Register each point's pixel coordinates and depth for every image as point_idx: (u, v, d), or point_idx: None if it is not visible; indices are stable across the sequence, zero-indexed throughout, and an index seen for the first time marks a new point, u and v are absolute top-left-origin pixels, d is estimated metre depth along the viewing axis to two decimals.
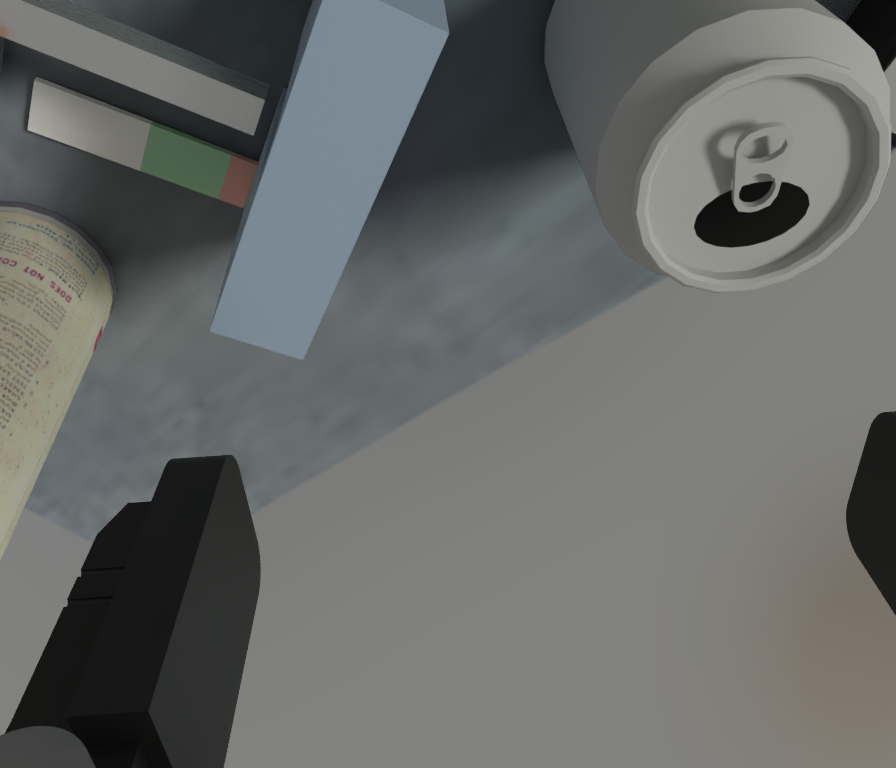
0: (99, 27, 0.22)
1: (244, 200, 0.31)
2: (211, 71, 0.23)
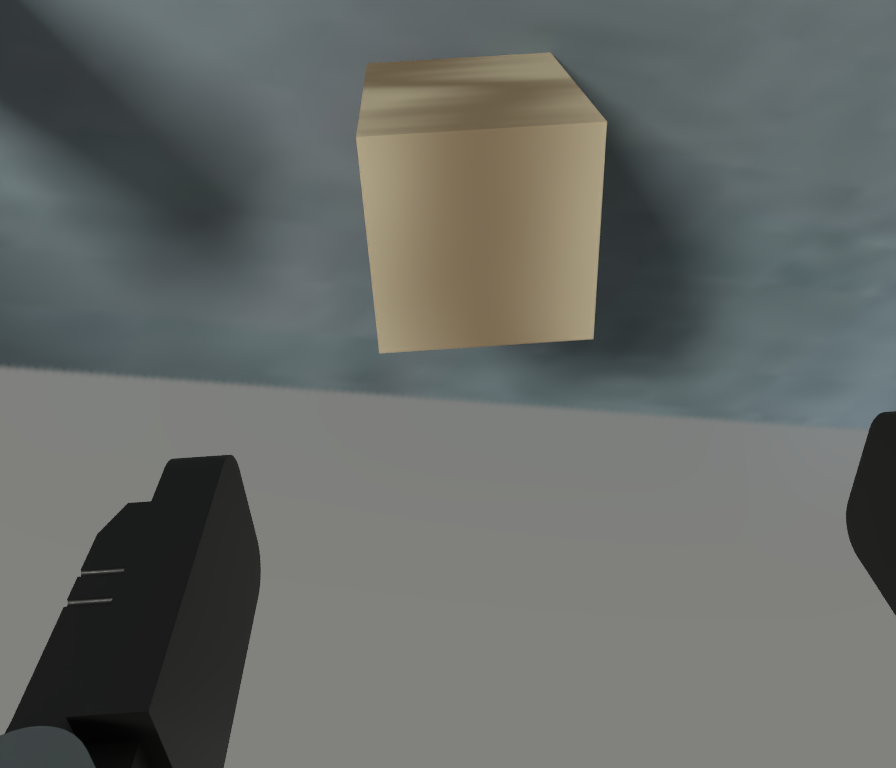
0: None
1: None
2: None
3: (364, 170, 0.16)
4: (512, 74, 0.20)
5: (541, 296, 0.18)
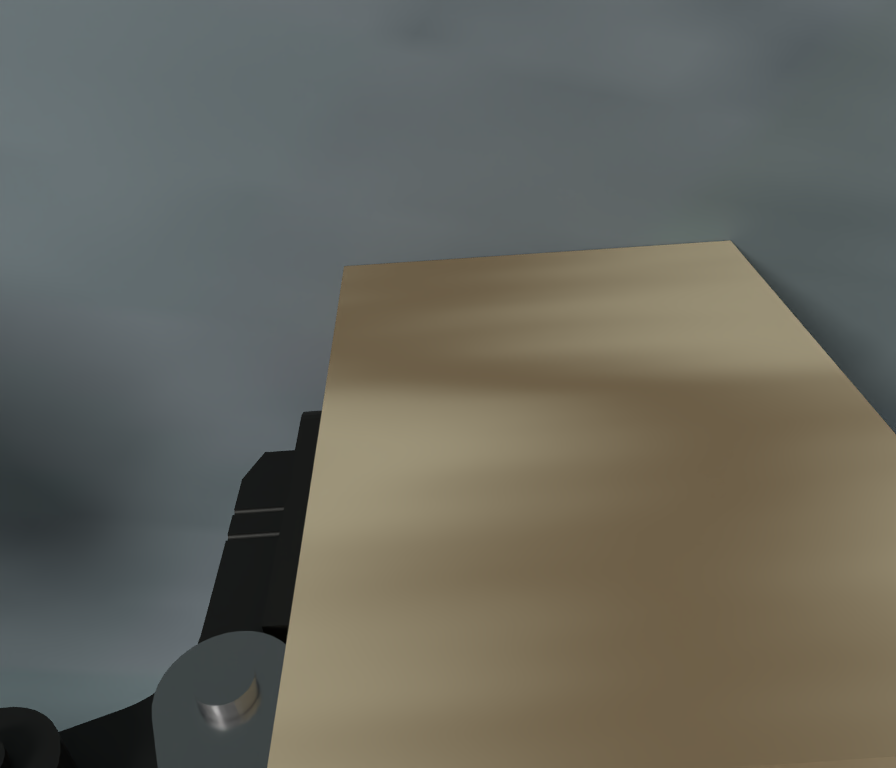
0: None
1: None
2: None
3: None
4: (681, 340, 0.08)
5: None
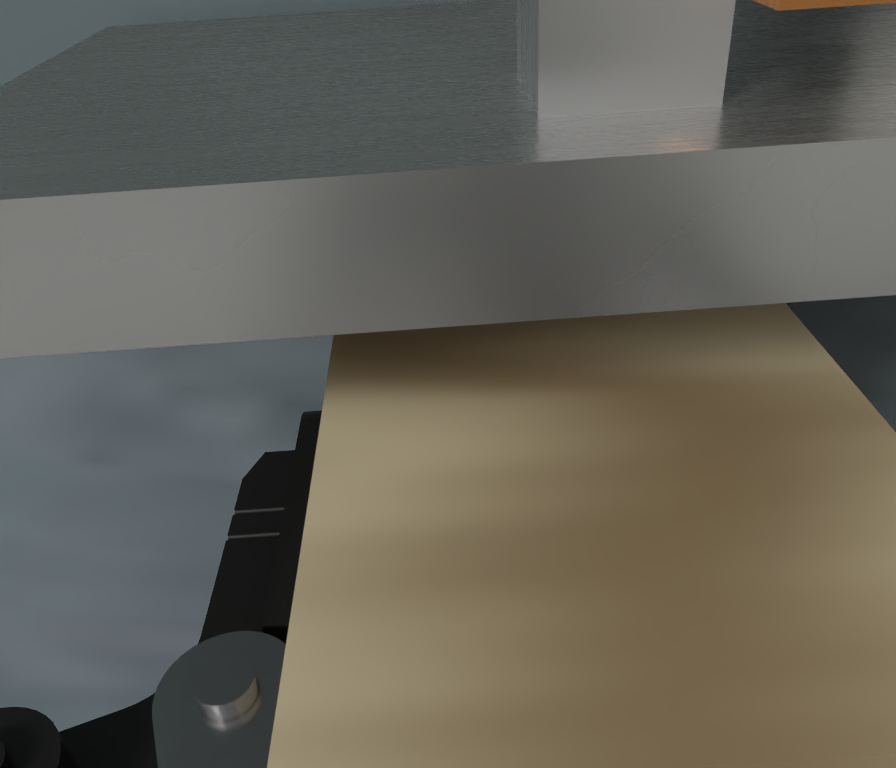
0: None
1: None
2: None
3: None
4: (681, 338, 0.08)
5: None
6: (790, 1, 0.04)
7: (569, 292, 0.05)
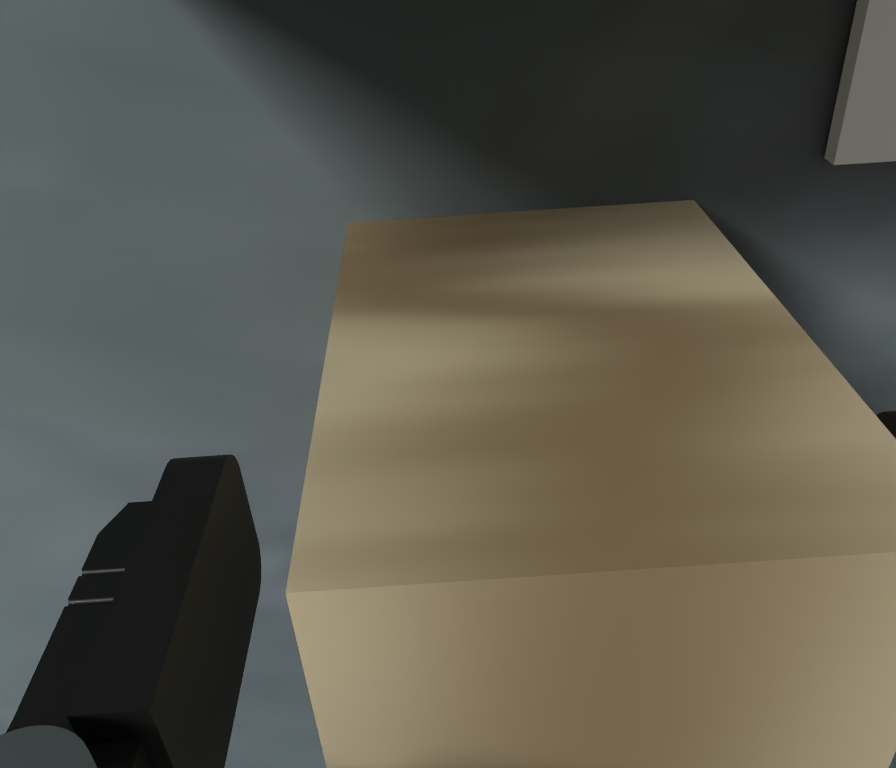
0: None
1: None
2: None
3: (312, 652, 0.06)
4: (642, 277, 0.10)
5: None
6: None
7: None
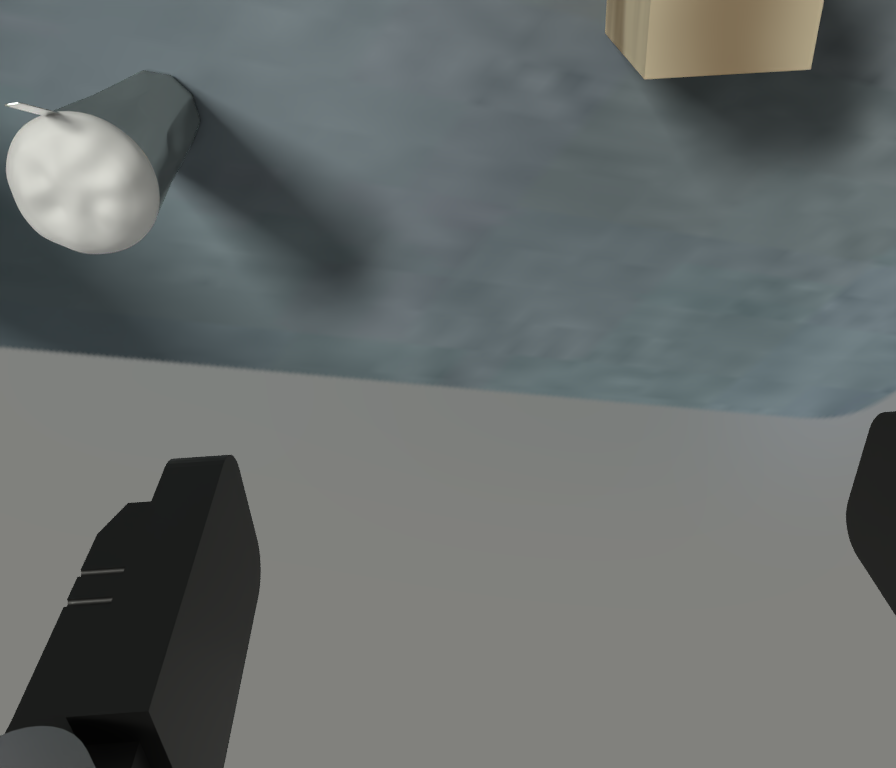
0: None
1: None
2: None
3: None
4: None
5: (776, 29, 0.23)
6: None
7: None
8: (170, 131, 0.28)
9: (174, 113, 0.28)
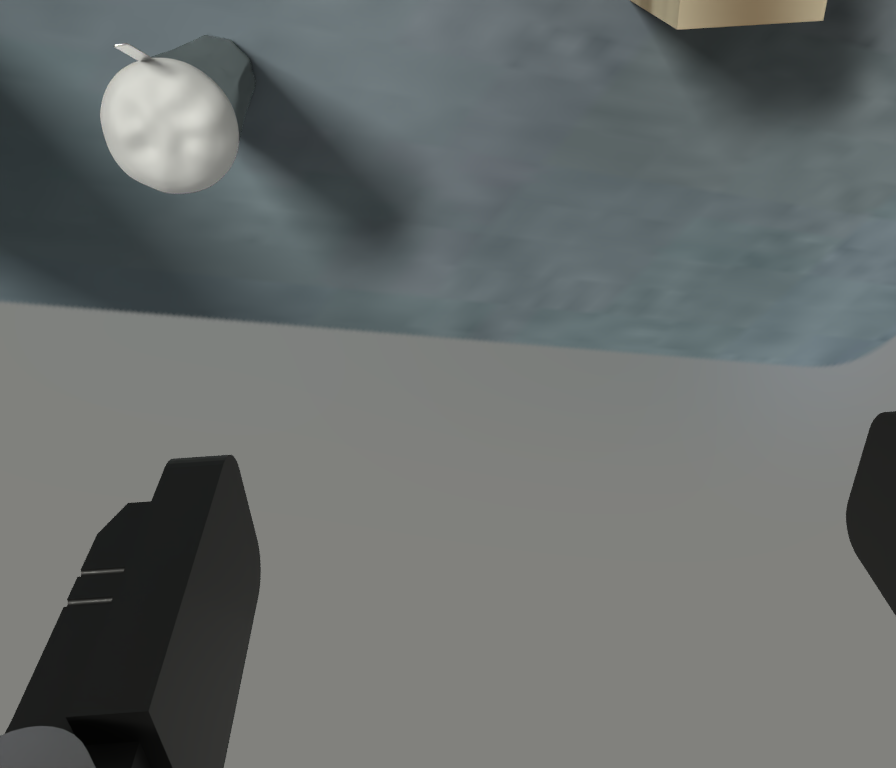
0: None
1: None
2: None
3: None
4: None
5: None
6: None
7: None
8: (239, 85, 0.30)
9: (240, 70, 0.31)
